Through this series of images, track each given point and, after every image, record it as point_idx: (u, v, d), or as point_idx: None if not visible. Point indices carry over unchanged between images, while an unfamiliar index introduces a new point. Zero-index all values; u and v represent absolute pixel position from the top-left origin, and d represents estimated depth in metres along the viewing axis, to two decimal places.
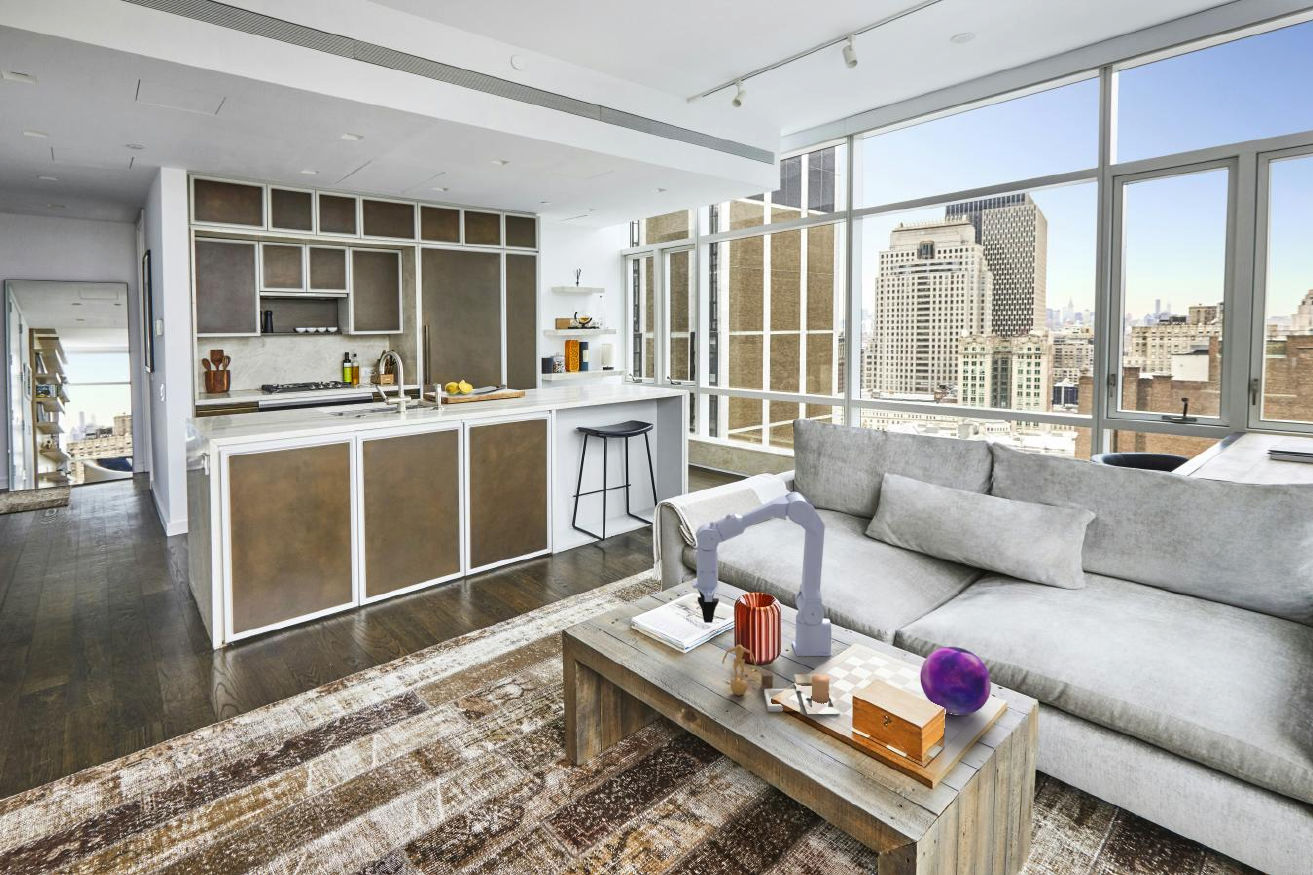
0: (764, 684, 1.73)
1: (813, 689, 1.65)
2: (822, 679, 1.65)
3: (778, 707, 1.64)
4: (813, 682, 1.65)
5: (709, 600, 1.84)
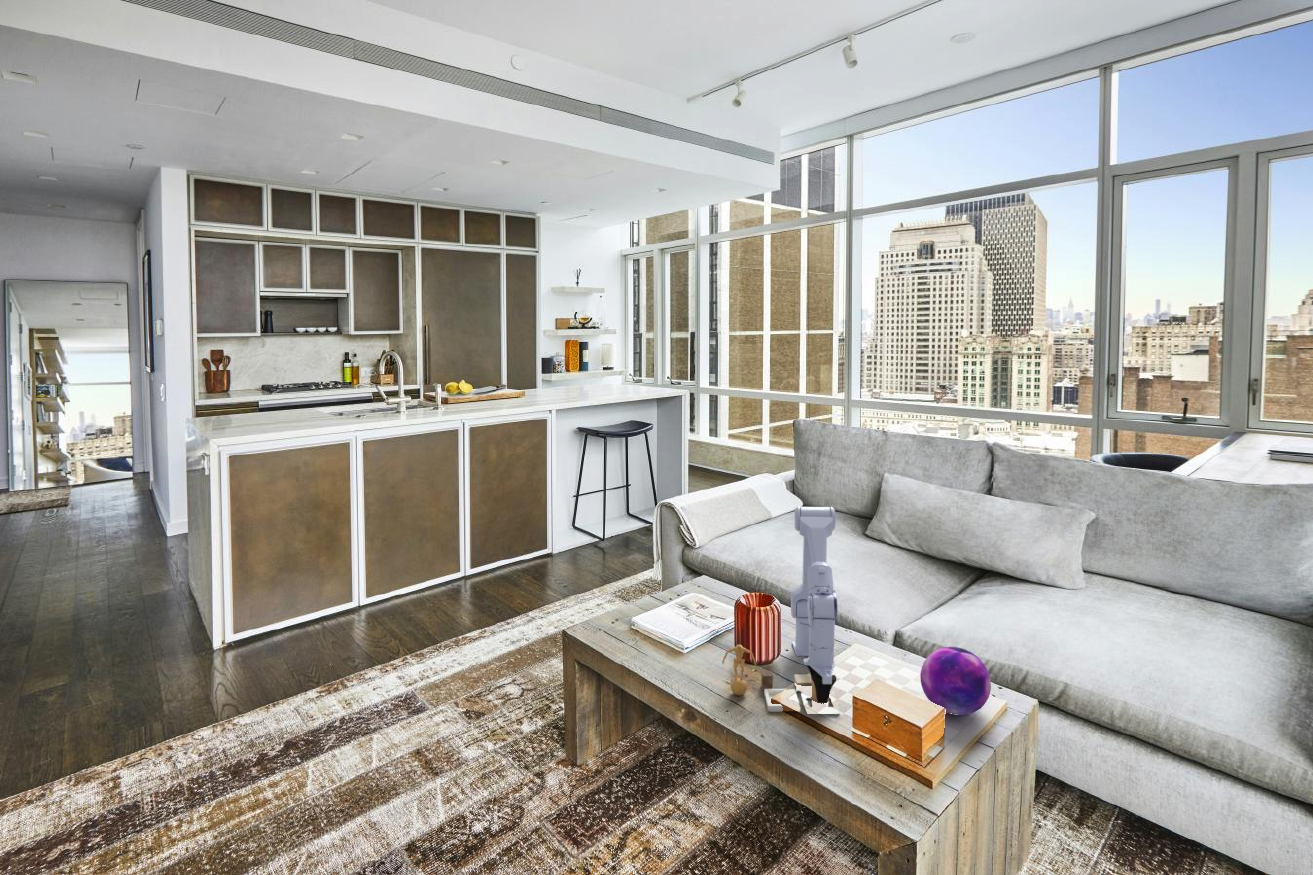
0: (764, 684, 1.73)
1: (813, 689, 1.65)
2: None
3: (778, 707, 1.64)
4: (813, 682, 1.65)
5: (828, 682, 1.58)
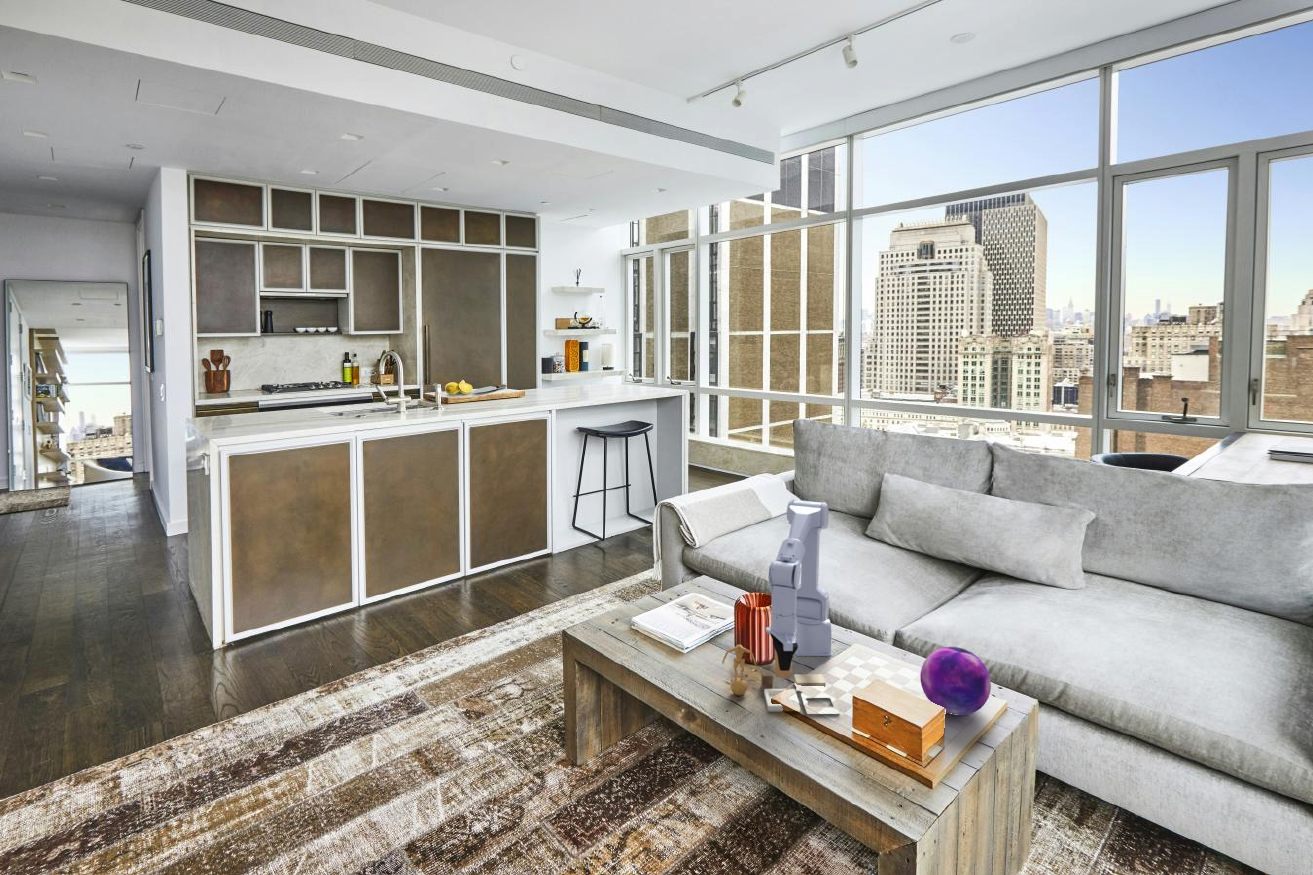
0: (764, 684, 1.73)
1: (776, 658, 1.65)
2: None
3: (778, 707, 1.64)
4: None
5: (789, 649, 1.58)
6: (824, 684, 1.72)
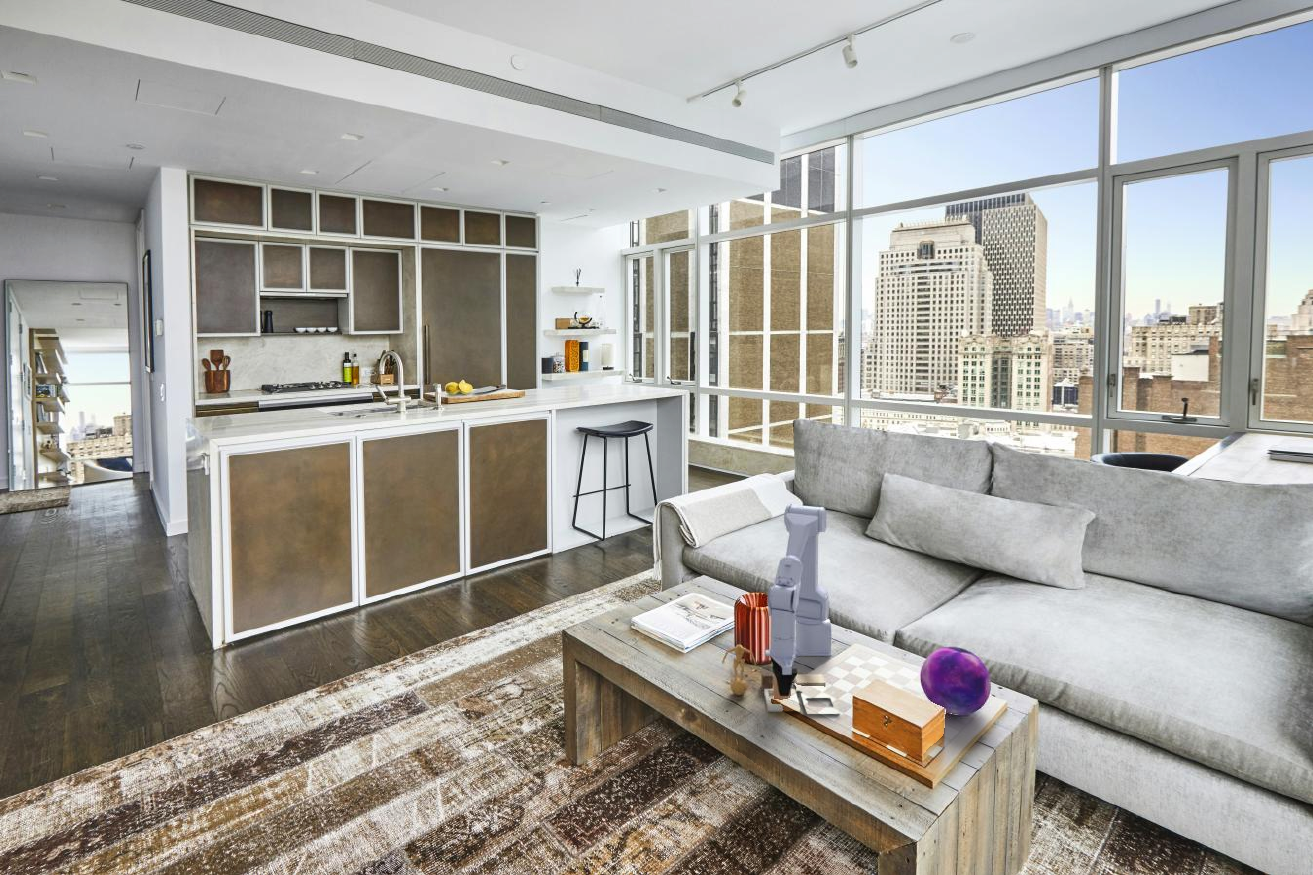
0: (764, 684, 1.73)
1: (775, 684, 1.67)
2: None
3: (778, 707, 1.64)
4: (775, 677, 1.66)
5: (788, 673, 1.59)
6: (824, 684, 1.72)
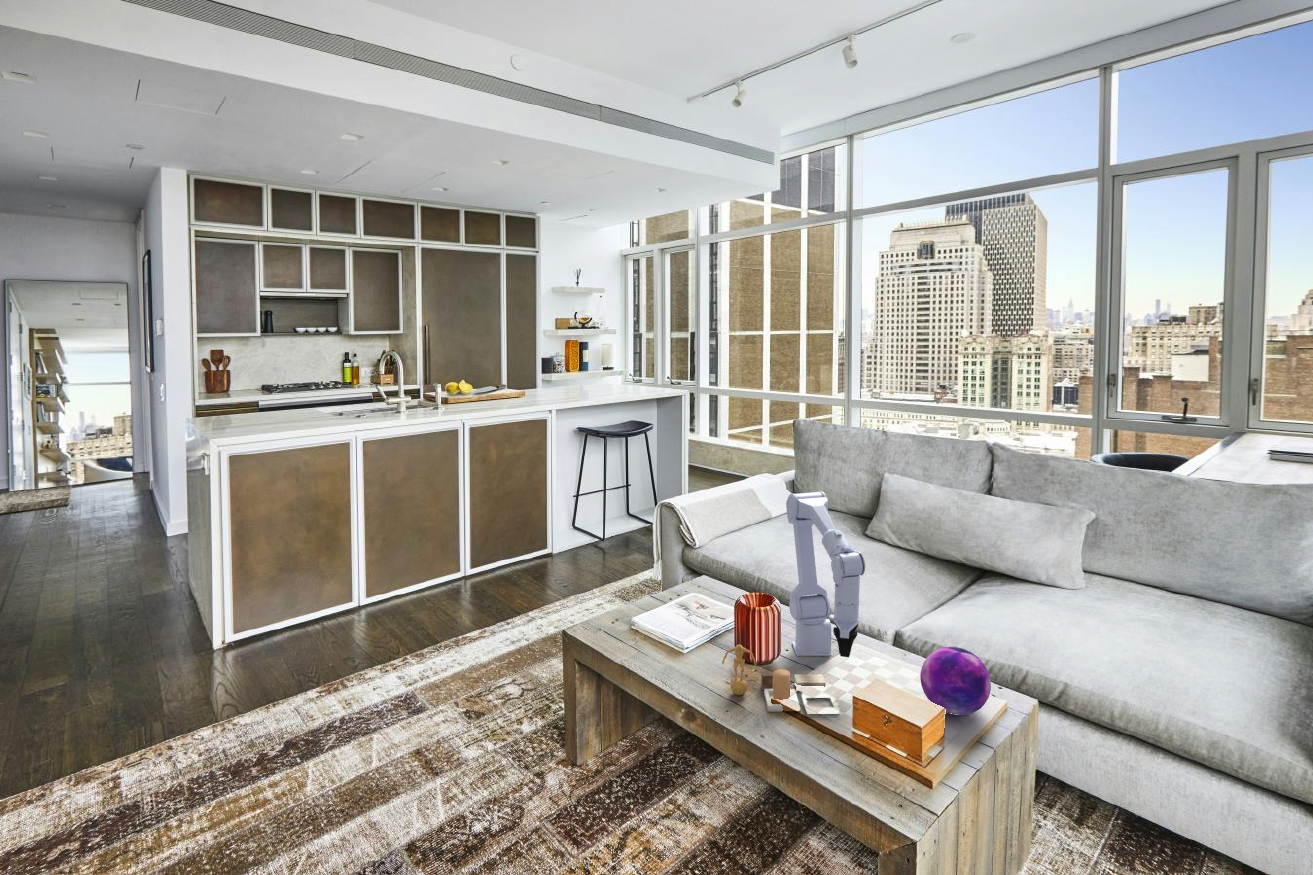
0: (764, 684, 1.73)
1: (774, 684, 1.67)
2: (783, 673, 1.67)
3: (778, 707, 1.64)
4: (774, 677, 1.66)
5: (845, 636, 1.64)
6: (824, 684, 1.72)
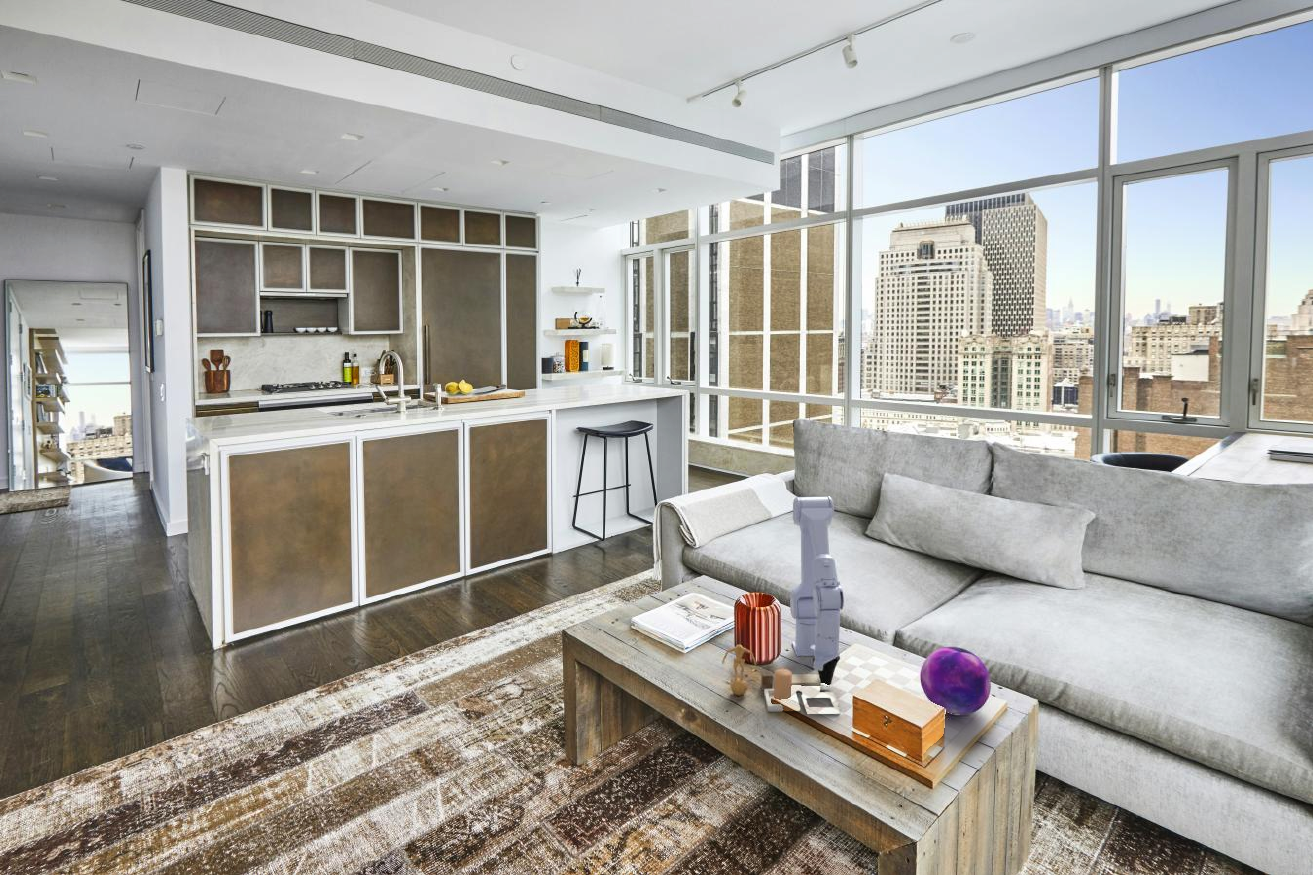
0: (764, 684, 1.73)
1: (776, 684, 1.66)
2: (785, 673, 1.67)
3: (778, 707, 1.64)
4: (776, 677, 1.66)
5: (818, 668, 1.66)
6: (819, 684, 1.72)
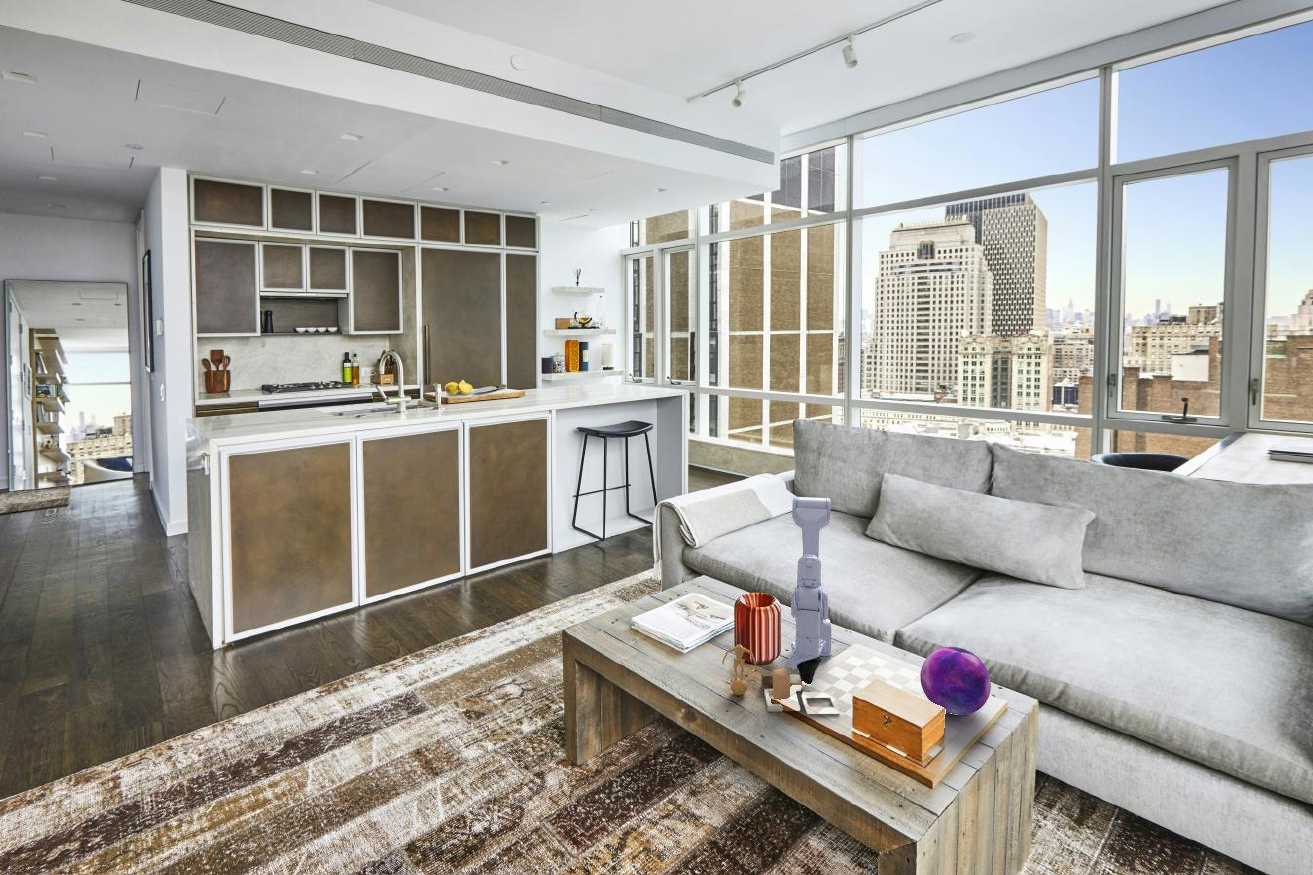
0: (764, 684, 1.73)
1: (775, 684, 1.66)
2: (783, 673, 1.67)
3: (778, 707, 1.64)
4: (774, 677, 1.66)
5: (791, 667, 1.67)
6: (800, 684, 1.72)
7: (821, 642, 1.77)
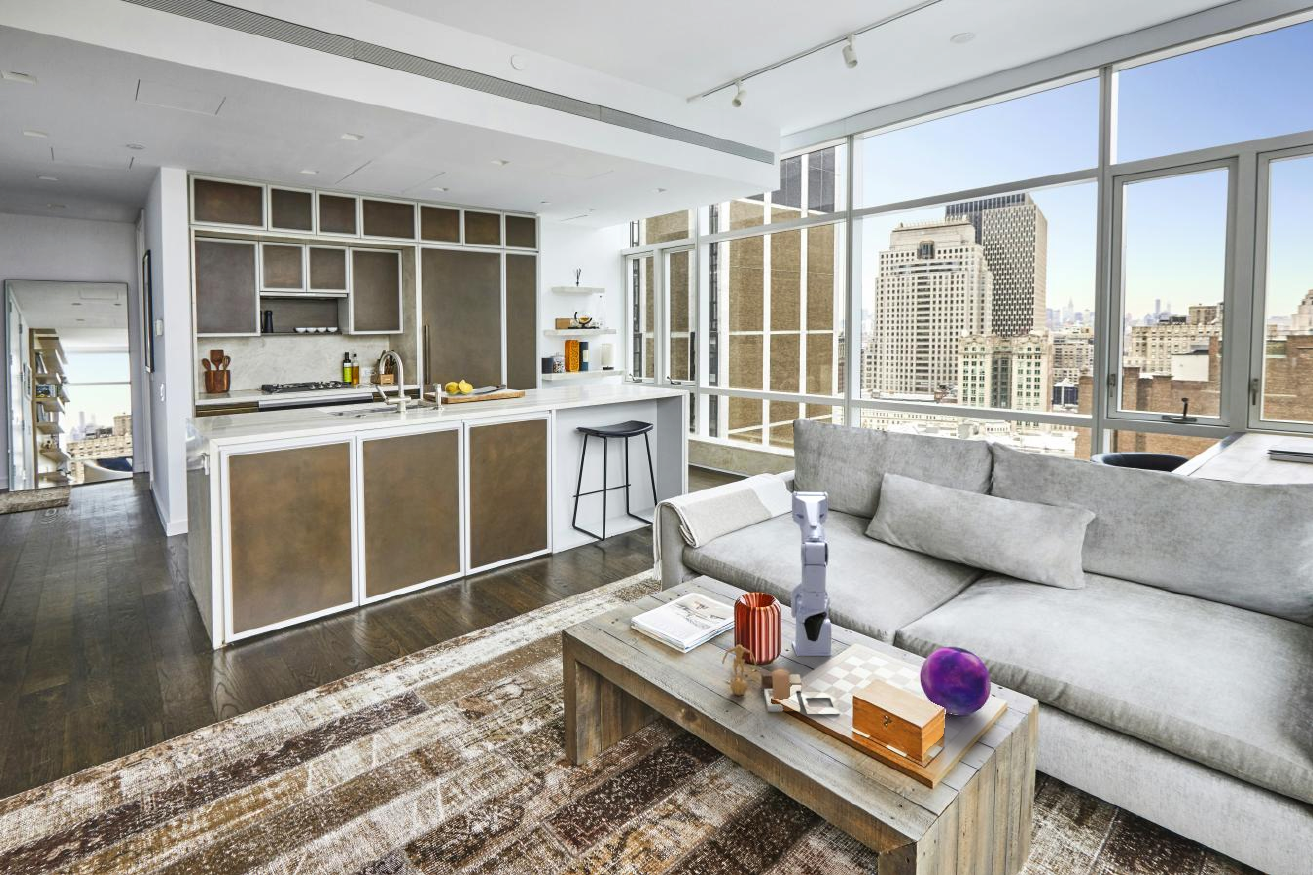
0: (764, 684, 1.73)
1: (776, 686, 1.66)
2: (783, 673, 1.67)
3: (778, 707, 1.64)
4: (775, 679, 1.66)
5: (800, 621, 1.70)
6: (800, 684, 1.72)
7: (825, 598, 1.80)
